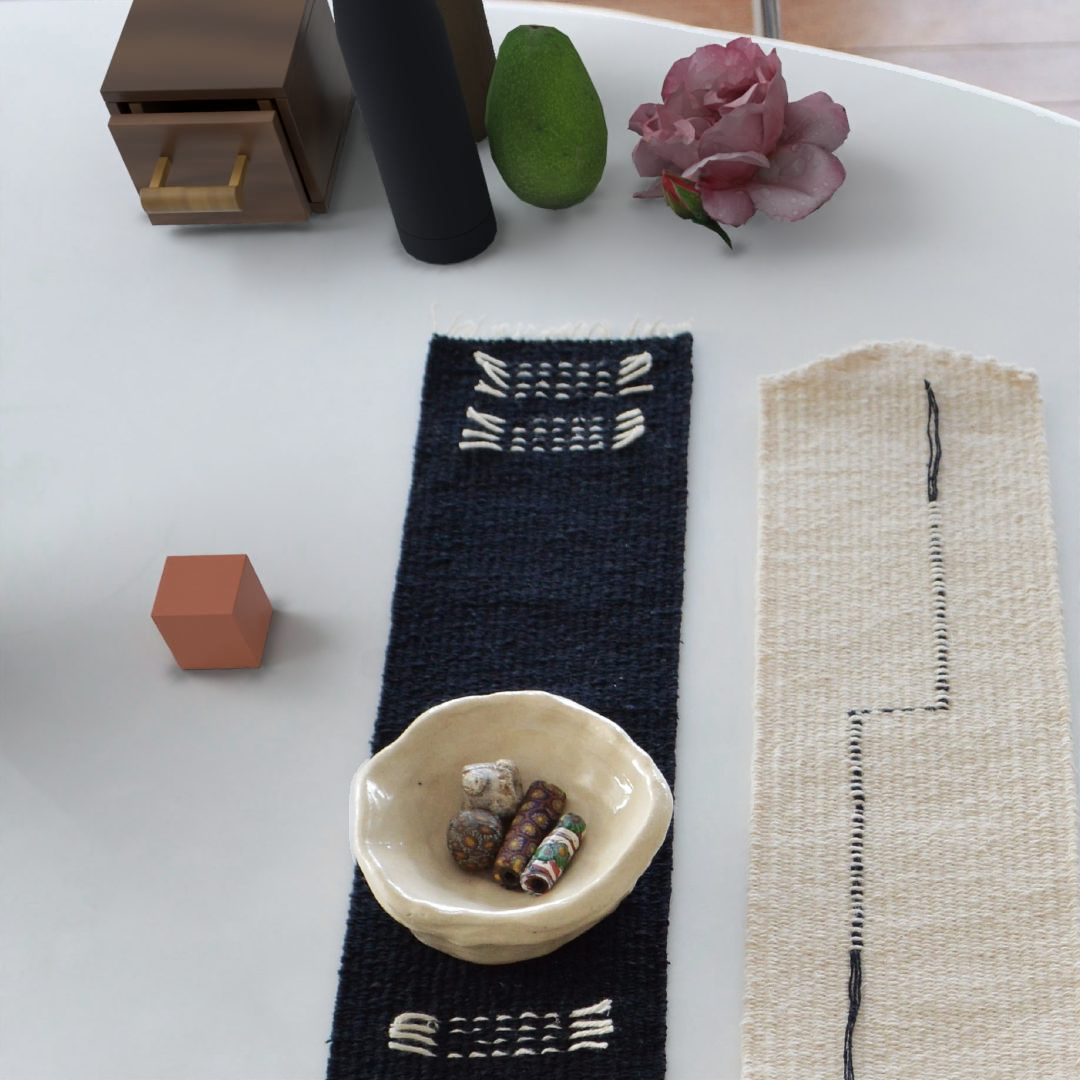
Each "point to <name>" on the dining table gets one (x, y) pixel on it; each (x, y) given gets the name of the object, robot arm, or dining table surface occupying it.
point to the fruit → (545, 119)
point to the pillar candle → (471, 55)
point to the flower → (738, 140)
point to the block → (212, 611)
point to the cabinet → (242, 69)
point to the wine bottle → (417, 125)
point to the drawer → (211, 161)
